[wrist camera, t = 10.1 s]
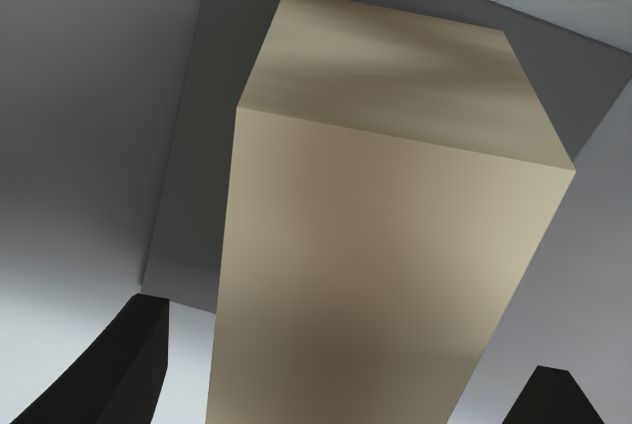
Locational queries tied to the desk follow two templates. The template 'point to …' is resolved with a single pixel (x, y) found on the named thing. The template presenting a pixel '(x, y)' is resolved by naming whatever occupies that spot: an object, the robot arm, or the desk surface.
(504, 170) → the maple block
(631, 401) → the desk surface
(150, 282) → the rubber mat
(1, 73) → the desk surface
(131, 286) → the desk surface
